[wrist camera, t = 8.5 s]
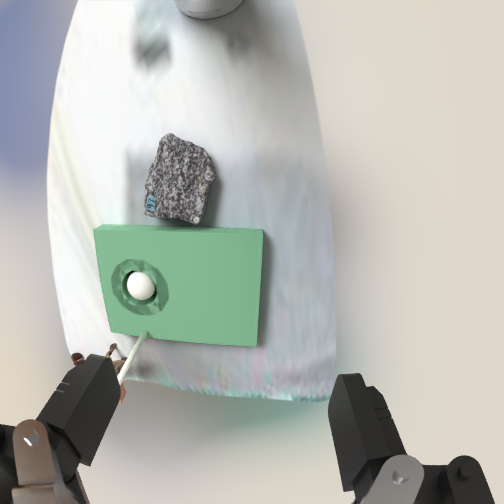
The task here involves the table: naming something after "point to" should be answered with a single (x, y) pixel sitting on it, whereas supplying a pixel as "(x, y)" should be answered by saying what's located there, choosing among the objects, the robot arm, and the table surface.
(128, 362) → the pin
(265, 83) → the table surface
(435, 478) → the robot arm
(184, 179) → the rock
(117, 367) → the toy
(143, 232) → the green
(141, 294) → the ball
